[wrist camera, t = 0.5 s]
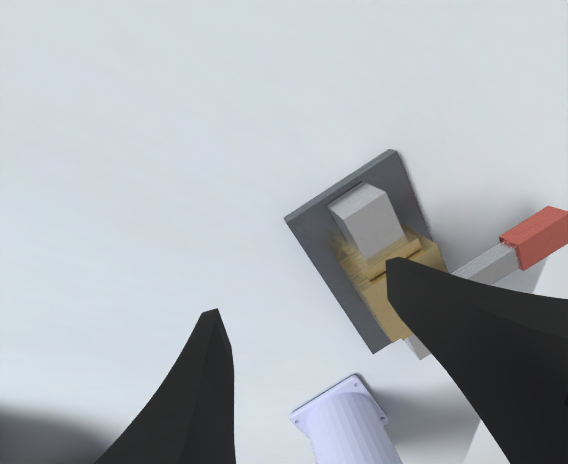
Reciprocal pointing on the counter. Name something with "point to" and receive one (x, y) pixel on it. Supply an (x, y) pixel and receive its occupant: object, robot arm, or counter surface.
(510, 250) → the valve lever
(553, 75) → the counter surface
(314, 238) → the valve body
